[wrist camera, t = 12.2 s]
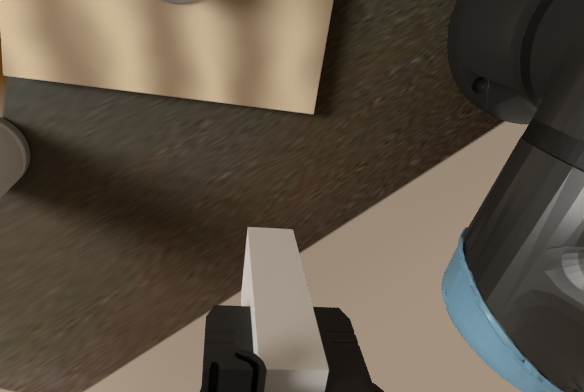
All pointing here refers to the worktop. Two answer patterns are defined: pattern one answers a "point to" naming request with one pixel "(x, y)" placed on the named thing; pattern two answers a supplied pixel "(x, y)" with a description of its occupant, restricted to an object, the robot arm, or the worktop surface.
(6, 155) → the travel mug
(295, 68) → the lock base
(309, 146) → the worktop surface
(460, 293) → the robot arm
